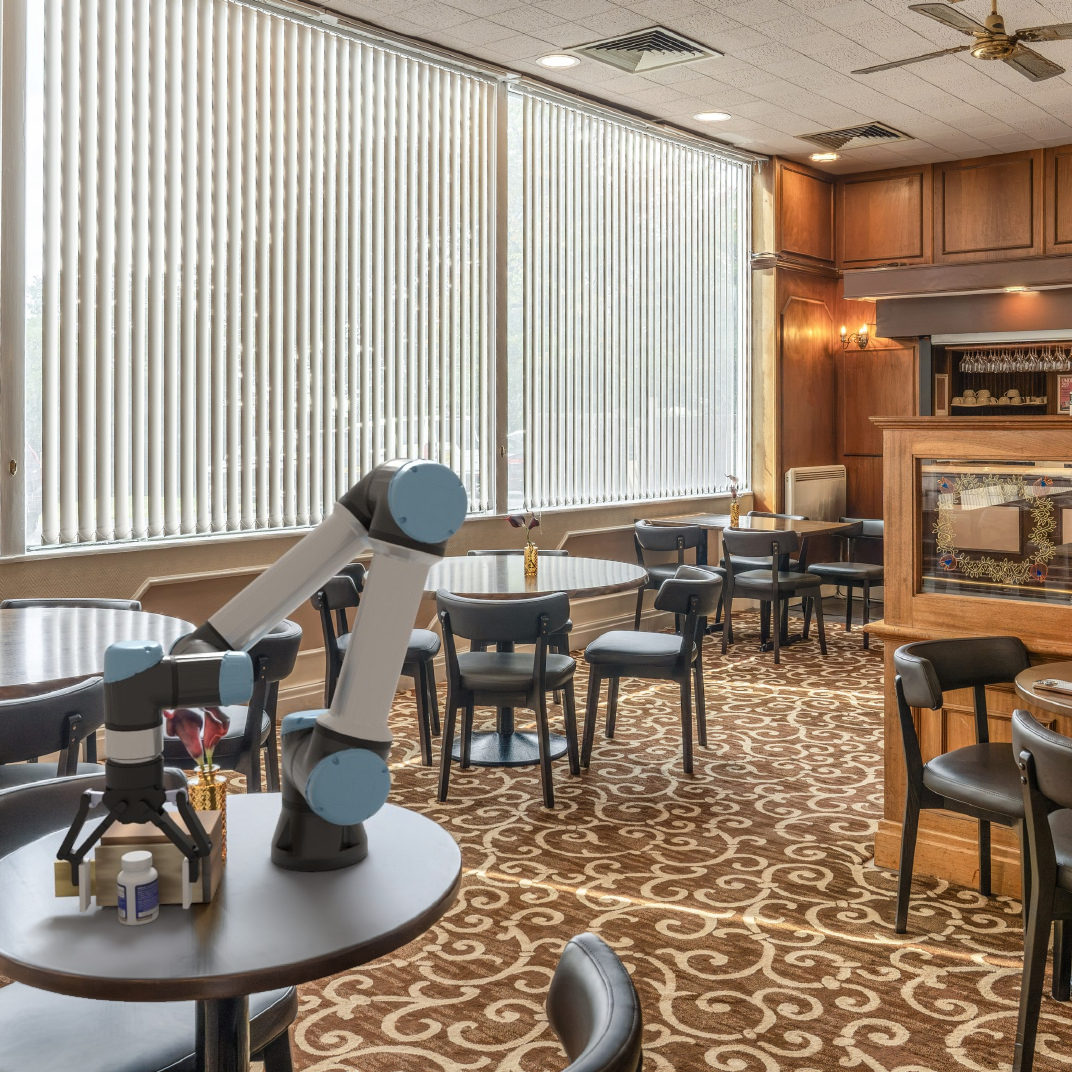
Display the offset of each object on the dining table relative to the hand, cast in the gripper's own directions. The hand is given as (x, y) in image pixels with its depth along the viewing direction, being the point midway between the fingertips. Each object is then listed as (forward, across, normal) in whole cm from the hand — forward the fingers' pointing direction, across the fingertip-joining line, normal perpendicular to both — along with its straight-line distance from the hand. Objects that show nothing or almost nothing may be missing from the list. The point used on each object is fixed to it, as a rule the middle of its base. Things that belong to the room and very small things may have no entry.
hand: (136, 906), depth 154 cm
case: (+2, -2, -10) cm, 10 cm away
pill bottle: (+2, 0, 0) cm, 2 cm away
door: (+1, +1, -4) cm, 4 cm away
